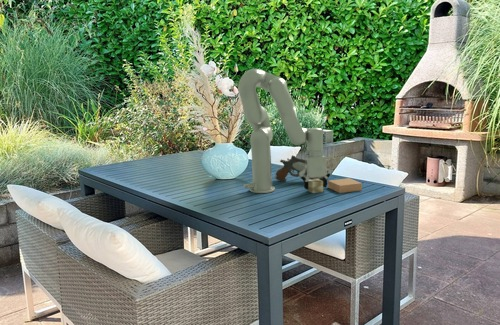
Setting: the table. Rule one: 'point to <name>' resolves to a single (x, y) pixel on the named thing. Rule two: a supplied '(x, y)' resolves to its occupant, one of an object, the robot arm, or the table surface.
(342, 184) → the terracotta base
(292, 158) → the gun
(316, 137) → the robot arm
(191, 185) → the table surface
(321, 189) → the beech cube
